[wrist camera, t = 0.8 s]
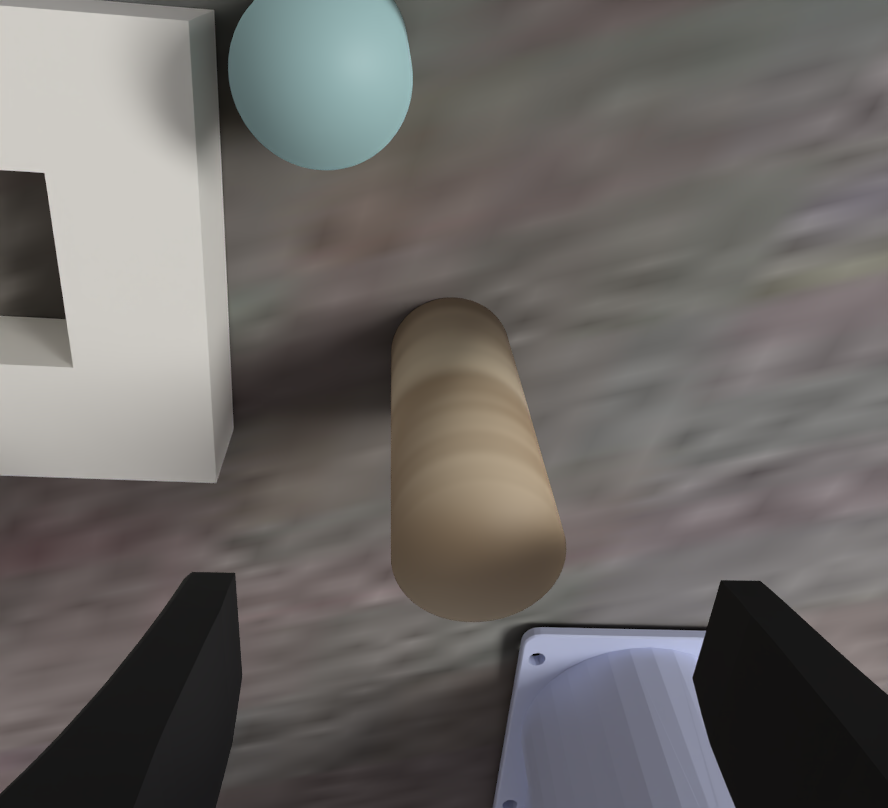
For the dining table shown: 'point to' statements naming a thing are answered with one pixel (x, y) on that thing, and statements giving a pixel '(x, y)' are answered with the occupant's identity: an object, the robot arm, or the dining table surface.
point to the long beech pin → (466, 470)
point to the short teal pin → (321, 78)
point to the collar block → (118, 243)
